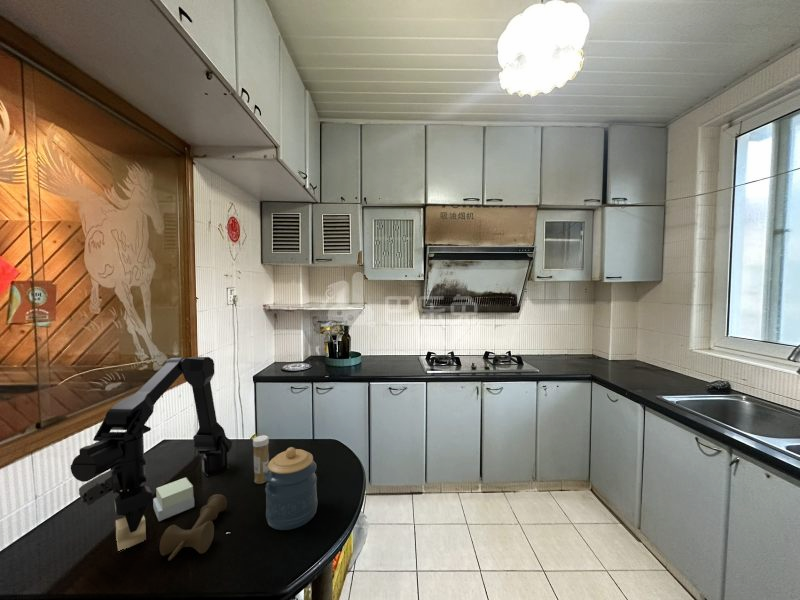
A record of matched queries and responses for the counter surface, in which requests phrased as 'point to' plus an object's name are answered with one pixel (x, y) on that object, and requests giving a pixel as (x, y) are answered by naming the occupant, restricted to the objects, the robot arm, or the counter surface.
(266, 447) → the sprinkles bottle
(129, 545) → the maple cube
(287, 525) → the canister
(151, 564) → the counter surface
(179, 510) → the base block
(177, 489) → the sage block
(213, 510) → the kendama
